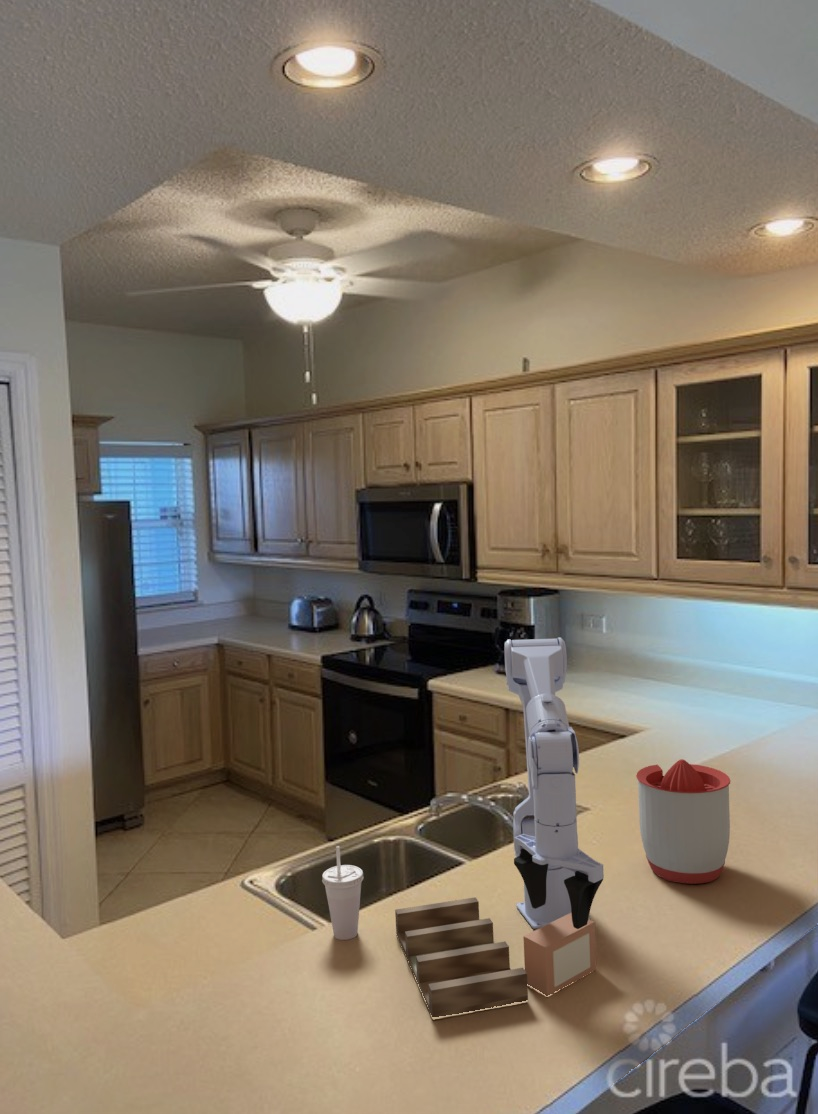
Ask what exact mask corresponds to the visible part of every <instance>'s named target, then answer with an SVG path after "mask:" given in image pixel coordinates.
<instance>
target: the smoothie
mask: <svg viewBox="0 0 818 1114" xmlns="http://www.w3.org/2000/svg"><path fill="white" fill-rule="evenodd" d="M340 848H341V847H340V845H336V846H335V851H336V853H335V854H336V865H335V866H331V867H330V868H328V869H326V870H325V871H323V873H322V880H321V882H322V884H323V885H324V886H325V887H324V888H325V894H326V899H327V903H328V904H327V905H328V910H329V915H330V916H329V917H330V921H331V925H332V926H331V927H332V931H333V932H332V933H333V937H334V938H335V939H336V940H341V941H347V940H351V939H354V938H356V936H357V935H358V931H359V918H360V903H361V892H362V891H361V889H362V881H364V872H363V869H361V868H360V867H359V866H356V865H352V864H342V865H341V849H340Z"/></svg>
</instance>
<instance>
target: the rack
mask: <svg viewBox="0 0 818 1114" xmlns="http://www.w3.org/2000/svg"><path fill="white" fill-rule="evenodd" d="M479 904H480V903H479V900H478V898H477V897H469V898H461V899H455V900H450V901H443V902H442V901H441V902H435V903H429V904H424V905H418V906H411V907H404V908H397V909H395V910H394V911H395V913H394V914H395V930H396V934H397V935H396V937H397V936H398V937H397V940H398V939H399V940H398V942H399V941H400V942H399V944H400V943H401V945H400V946H402V947H401V949H402V948H403V949H402V951H403V950H404V952H405V954H406V956H405V958H406V957H407V959H408V961H409V964H410V966H411V968H412V970H413V973H414V975H415V977H416V980H417V982H418V984H419V987H420V989H421V991H422V993H423V996H424V998H425V1000H426V1003H427V1005H428V1008H429V1011H430V1013H431V1015H432V1017H439V1016H446V1015H452V1014H459V1013H463V1012H469V1011H475V1010H480V1009H485V1008H491V1007H492V1008H493V1007H494V1006H496V1007H497V1006H502V1005H506V1004H511V1003H514V1002H522V1001H526V1000H528V1001H529V991H528V990H529V989H528V988H529V987H528V986H527V973H526V971H525V967H518V968H512V969H511V965H510V946H509V945H508V943H507V942H506V941H500V942H495V941H494V923H493V921H492V919H491V918H490V917H489V918H482V919H480V907H479V906H480V905H479ZM404 952H403V953H404ZM405 954H404V955H405ZM407 959H406V960H407ZM408 961H407V962H408ZM409 964H408V965H409ZM410 966H409V967H410ZM411 968H410V969H411ZM413 973H412V974H413ZM414 975H413V976H414ZM416 980H415V981H416ZM419 987H418V988H419ZM429 1011H428V1012H429ZM430 1013H429V1014H430Z"/></svg>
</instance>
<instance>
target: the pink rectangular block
mask: <svg viewBox="0 0 818 1114" xmlns="http://www.w3.org/2000/svg"><path fill="white" fill-rule="evenodd" d="M595 924H596V923H595V921H593V920H592V919H588V923H587V925H585V926H583V927H581V928H579V929H576V928H574V926H573V922H572V913H569V914H567V915H565V916H563V917H561V918H559V919H557V920H555V921H553V922H551V923H549V924H547V925H545V926H543V927H541V928H538V929H534V930H533V931H530V932H529V933H527V934H525V935H523V955H524V956H523V957H524V970H525V971H526V973H527V984H528V985H530V986H532V987H533V988H535V989H537V990H539V991H540V992H542V993H543V994H545V995H546V996H548V995H550V994H553V993H554V992H555V991H558V990H559V989H562V988H563V987H565V986H567V985H569V984H571V983H572V982H575V981H576V980H578V979H580V978H582V977H583V976H585V975H587V974H589V973H590V972H592V971H594V970H595V971H597V952H596V950H597V949H596V927H595V926H596V925H595ZM595 971H594V972H595ZM592 973H593V972H592ZM590 974H591V973H590ZM590 974H589V975H590ZM587 976H588V975H587ZM585 977H586V976H585ZM583 978H584V977H583ZM583 978H582V979H583ZM580 980H581V979H580ZM578 981H579V980H578ZM576 982H577V981H576ZM576 982H575V983H576ZM571 985H572V984H571ZM569 986H570V985H569ZM562 990H563V989H562Z"/></svg>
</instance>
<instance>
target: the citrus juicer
mask: <svg viewBox="0 0 818 1114" xmlns="http://www.w3.org/2000/svg"><path fill="white" fill-rule="evenodd" d="M635 777H636V779H637V787H638V788H637V789H638V817H639V819H638V820H639V831H640V837H641V841H642V846H643V850H644V853H645V858H646V860H647V862H648V864H649V866H650V869H651V871H652V872H653V873H654V874H655V875H657V876H659V877H660V878H662V879H664V880H666V881H668V882H675V883H681V884H691V885H692V884H693V885H694V884H696V885H697V884H704V883H709V882H714V880H717V879H718V878H719V877H720V875H721V873H722V871H723V869H724V866H725V864H726V858H727V855H728V850H729V845H730V833H731V832H730V831H731V824H730V823H731V820H730V787H729V786H730V784H731V779H730V776H728V775H727V774H726V773H725V772H723V771H721V770H720V769H719V770H718V769H716V768H713V767H709V766H705V765H700V764H692V763H689V762H688V761H686V759H682V758H681V759H679V760H678V761H677V760H676V762H675V763H674V764H673V765H672V766H671V767H670V768H669V769H668V770H667V771H666V773H665V774H664V772H663V768H661V766H660V765H658V764H654V765H648V766H645V767H642V768H640V769H639V770H638V771H637V773H636V776H635Z"/></svg>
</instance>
